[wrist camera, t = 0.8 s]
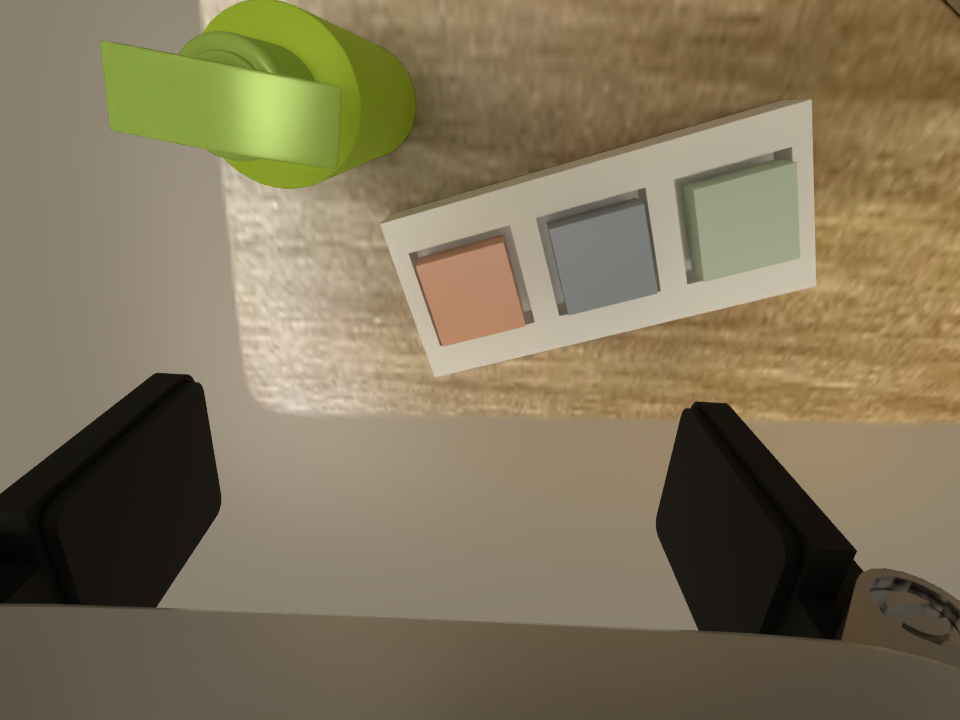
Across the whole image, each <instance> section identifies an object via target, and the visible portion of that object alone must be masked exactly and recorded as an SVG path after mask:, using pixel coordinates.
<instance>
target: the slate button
mask: <svg viewBox="0 0 960 720" xmlns="http://www.w3.org/2000/svg"><path fill="white" fill-rule="evenodd" d="M546 223H547V228H548V232H549V236H550V241H551V245H552V249H553V254H554V258H555V263H556V267H557V271H558V276H559V280H560V284H561V289H562V293H563V297H564V302H565V305H566V309H567V312H568V315H573V314H577V313H581V312H585V311H589V310H593V309H597V308H601V307H605V306H609V305H613V304H617V303H621V302H625V301H629V300H633V299H637V298H642V297H646V296H650V295H654V294H658V292H657V285H656V279H655V272H654V266H653V259H652V252H651V246H650V239H649V233H648V226H647V220H646V213H645V207H644V204H643V203H642V202H641V201H639V200H638V199H636V198H633V199H630V200H626V201H623V202H619V203H615V204H612V205H608V206H604V207H601V208H597V209H594V210H590V211H586V212H583V213H579V214H575V215H572V216H568V217H565V218H561V219H557V220H554V221H550V222H546Z"/></svg>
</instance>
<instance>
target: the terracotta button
mask: <svg viewBox="0 0 960 720" xmlns="http://www.w3.org/2000/svg"><path fill="white" fill-rule="evenodd" d="M416 269H417V272H418V275H419V278H420V281H421V284H422V287H423V290H424V293H425V296H426V299H427V301H428V304H429V307H430V310H431V313H432V316H433V319H434V322H435V325H436V328H437V331H438V334H439V337H440V340H441V343H442V345H443V347H444V346H448V345H452V344H456V343H460V342H464V341H468V340H472V339H476V338H480V337H484V336H488V335H492V334H496V333H500V332H504V331H508V330H512V329H516V328H520V327H525V326H526V324H525V314H524V310H523V307H522V303H521V299H520V295H519V291H518V288H517V284H516V280H515V276H514V273H513V269H512V265H511V261H510V258H509V254H508V250H507V246H506V242H505V239H504V235H499V236H496V237H492V238H488V239H485V240H481V241H478V242H474V243H470V244H467V245H463V246H459V247H456V248H452V249H449V250H445V251H441V252H438V253H434V254H430V255H427V256H423V257H420V259H419V261H418V263H417V265H416Z"/></svg>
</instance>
